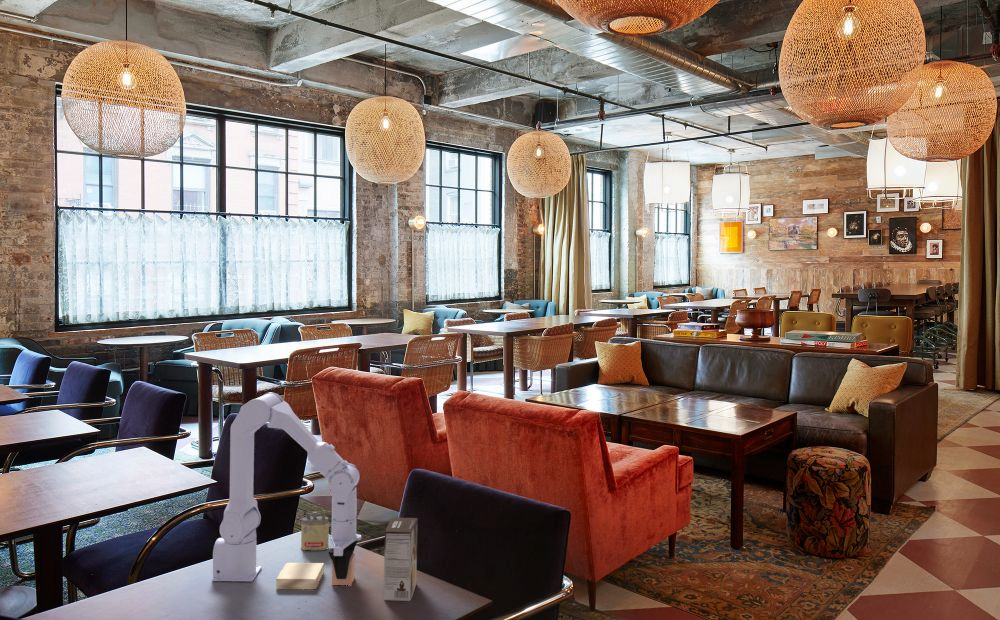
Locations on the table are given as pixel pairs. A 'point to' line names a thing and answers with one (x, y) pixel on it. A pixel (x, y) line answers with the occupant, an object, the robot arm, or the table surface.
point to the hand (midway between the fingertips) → (343, 573)
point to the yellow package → (314, 531)
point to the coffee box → (400, 559)
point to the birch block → (300, 576)
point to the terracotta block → (349, 576)
